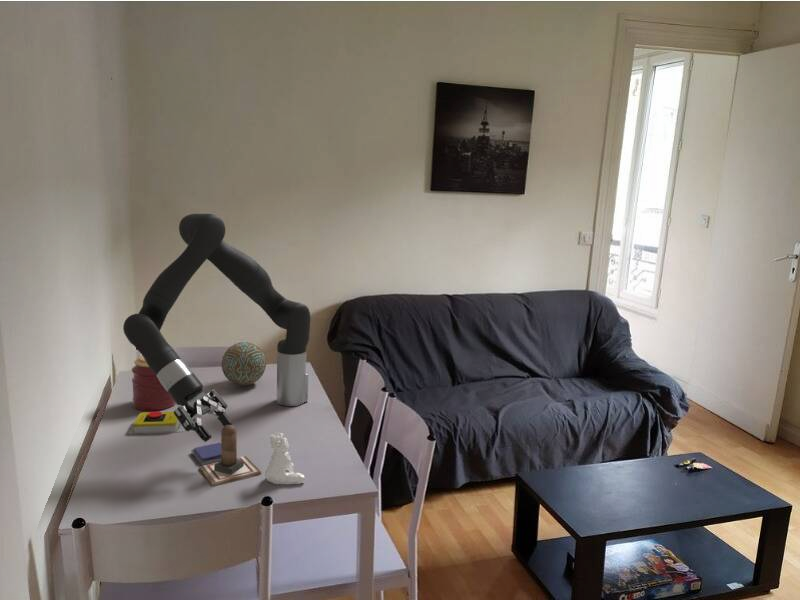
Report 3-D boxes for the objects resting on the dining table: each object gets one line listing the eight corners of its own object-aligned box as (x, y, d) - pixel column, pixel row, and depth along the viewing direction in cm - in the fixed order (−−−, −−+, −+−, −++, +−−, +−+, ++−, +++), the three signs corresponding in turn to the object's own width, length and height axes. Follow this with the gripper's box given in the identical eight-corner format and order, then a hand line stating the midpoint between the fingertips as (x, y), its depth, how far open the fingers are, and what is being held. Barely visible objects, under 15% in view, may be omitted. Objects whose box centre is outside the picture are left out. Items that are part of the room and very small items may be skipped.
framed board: (245, 458, 158) (245, 454, 158) (261, 474, 150) (261, 470, 150) (199, 468, 151) (199, 465, 151) (212, 486, 143) (212, 482, 143)
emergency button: (134, 408, 177) (188, 407, 180) (134, 422, 178) (188, 421, 181) (127, 420, 168) (184, 419, 171) (127, 435, 169) (184, 433, 172)
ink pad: (221, 446, 164) (221, 441, 163) (232, 458, 157) (232, 452, 157) (191, 453, 159) (191, 447, 159) (201, 465, 153) (201, 459, 152)
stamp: (226, 462, 153) (226, 420, 151) (243, 466, 152) (243, 423, 150) (214, 470, 149) (214, 427, 146) (231, 474, 147) (231, 430, 145)
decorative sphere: (266, 390, 208) (266, 348, 205) (220, 392, 204) (220, 349, 201) (265, 376, 222) (265, 337, 219) (222, 378, 218) (222, 337, 216)
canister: (150, 415, 182) (148, 358, 179) (123, 405, 189) (121, 350, 186) (186, 402, 193) (185, 349, 190) (159, 393, 200) (158, 342, 197)
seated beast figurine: (307, 484, 146) (308, 437, 144) (273, 492, 142) (273, 444, 139) (291, 467, 154) (292, 423, 152) (258, 475, 149) (258, 429, 147)
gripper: (168, 381, 143) (210, 435, 142) (206, 365, 156) (245, 414, 155) (151, 399, 146) (192, 452, 144) (189, 381, 159) (227, 430, 157)
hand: (219, 433), depth 149 cm, fingers open, 8 cm apart
